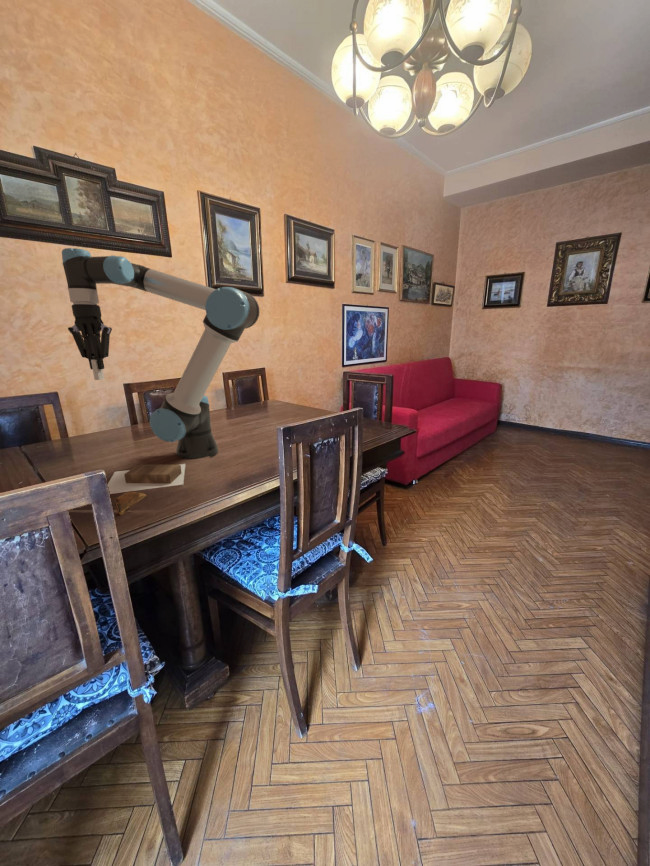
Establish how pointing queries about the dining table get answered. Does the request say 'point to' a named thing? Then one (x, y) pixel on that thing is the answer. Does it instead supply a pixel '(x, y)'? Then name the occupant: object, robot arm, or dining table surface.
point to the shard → (128, 501)
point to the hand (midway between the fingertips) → (99, 379)
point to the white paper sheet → (120, 485)
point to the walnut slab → (153, 474)
